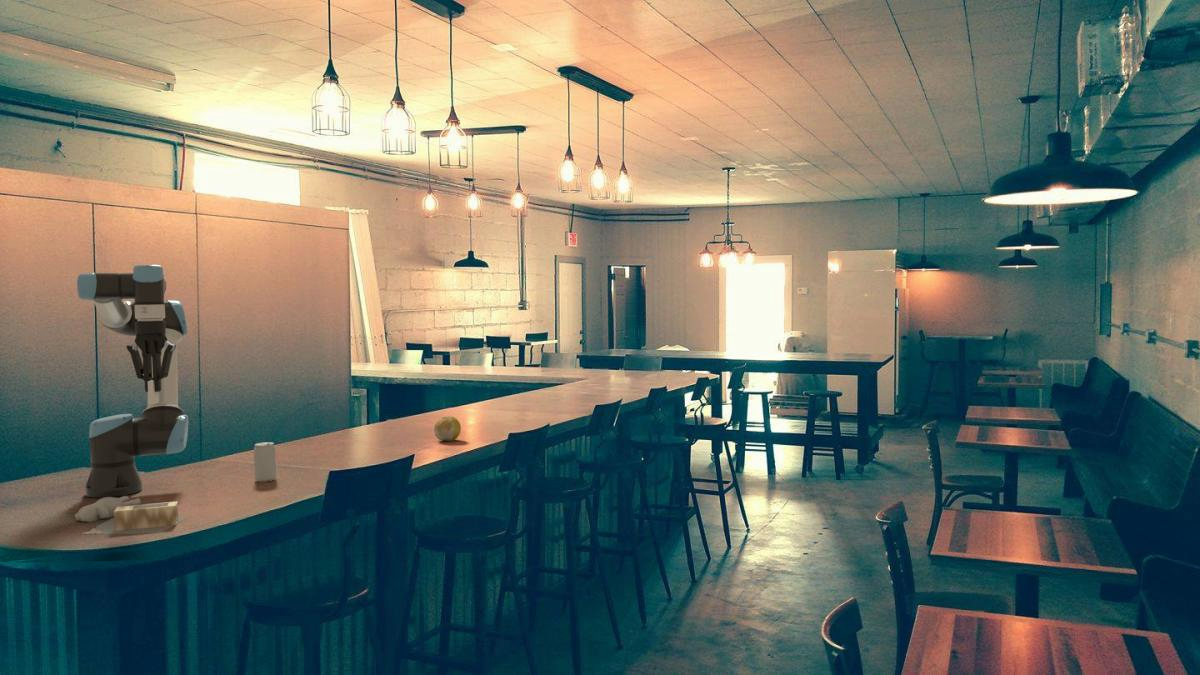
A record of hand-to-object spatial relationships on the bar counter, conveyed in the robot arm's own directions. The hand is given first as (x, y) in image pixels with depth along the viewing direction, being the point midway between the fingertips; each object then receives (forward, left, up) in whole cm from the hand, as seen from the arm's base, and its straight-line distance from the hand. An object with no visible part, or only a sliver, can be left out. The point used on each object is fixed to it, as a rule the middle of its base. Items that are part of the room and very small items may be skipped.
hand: (153, 403), depth 238 cm
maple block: (+1, -24, -27) cm, 36 cm away
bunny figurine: (-8, -11, -30) cm, 33 cm away
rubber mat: (+5, -22, -29) cm, 37 cm away
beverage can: (+19, +31, -30) cm, 47 cm away
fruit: (+67, +98, -30) cm, 122 cm away
